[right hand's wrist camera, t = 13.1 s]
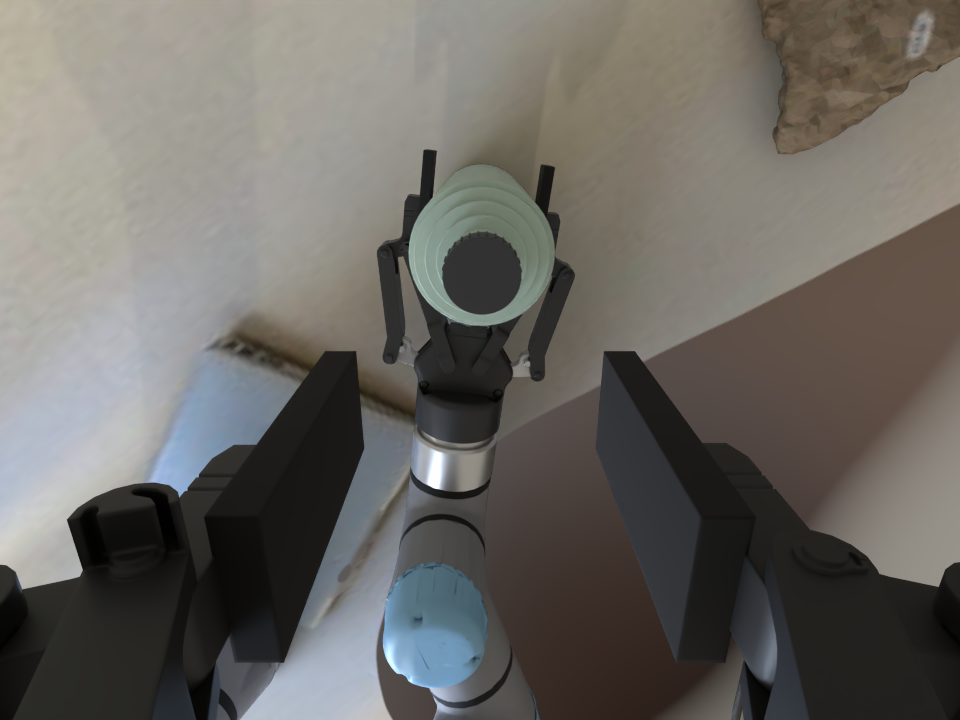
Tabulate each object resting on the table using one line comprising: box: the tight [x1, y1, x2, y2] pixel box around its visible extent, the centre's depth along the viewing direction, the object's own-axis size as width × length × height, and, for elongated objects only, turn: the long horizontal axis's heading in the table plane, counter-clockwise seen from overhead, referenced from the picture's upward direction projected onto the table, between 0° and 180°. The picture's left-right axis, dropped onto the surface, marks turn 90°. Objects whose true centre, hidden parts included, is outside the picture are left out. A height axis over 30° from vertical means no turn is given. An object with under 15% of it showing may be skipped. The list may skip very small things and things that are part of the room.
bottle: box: [409, 164, 555, 326], centre depth 38 cm, size 8×8×24 cm
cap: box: [442, 231, 522, 315], centre depth 27 cm, size 4×4×2 cm
